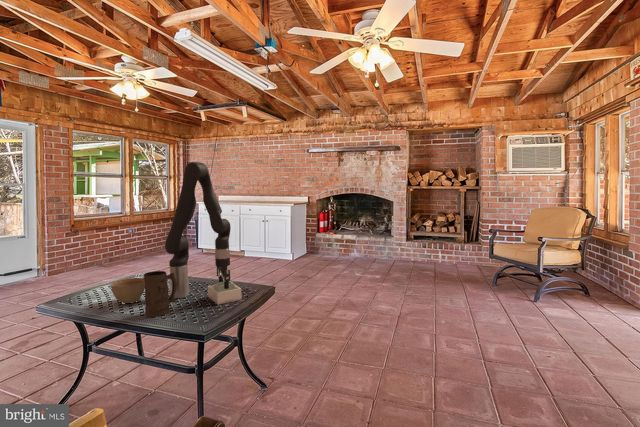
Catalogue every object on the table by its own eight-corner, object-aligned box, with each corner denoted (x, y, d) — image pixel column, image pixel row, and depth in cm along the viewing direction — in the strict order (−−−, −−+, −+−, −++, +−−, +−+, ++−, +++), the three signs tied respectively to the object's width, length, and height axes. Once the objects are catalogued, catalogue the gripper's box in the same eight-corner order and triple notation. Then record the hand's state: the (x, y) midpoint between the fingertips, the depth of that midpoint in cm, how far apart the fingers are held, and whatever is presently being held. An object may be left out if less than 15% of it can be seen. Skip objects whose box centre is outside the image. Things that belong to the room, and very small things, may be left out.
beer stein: (152, 319, 160) (152, 275, 159) (138, 315, 165) (138, 273, 165) (181, 310, 173) (181, 270, 172) (168, 307, 178) (168, 268, 178)
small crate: (218, 299, 182) (217, 286, 181) (214, 296, 187) (213, 283, 186) (234, 296, 187) (234, 283, 186) (230, 293, 192) (229, 280, 192)
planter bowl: (133, 295, 196) (132, 276, 195) (153, 299, 189) (152, 279, 188) (105, 304, 182) (103, 284, 181) (125, 308, 175) (124, 287, 174)
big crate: (218, 304, 177) (217, 293, 176) (208, 296, 190) (207, 286, 190) (241, 299, 184) (241, 288, 183) (230, 292, 197) (230, 281, 197)
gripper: (211, 255, 189) (212, 284, 190) (220, 260, 177) (221, 291, 179) (224, 253, 193) (225, 282, 195) (234, 258, 181) (235, 288, 183)
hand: (223, 286), depth 187 cm, fingers open, 8 cm apart
